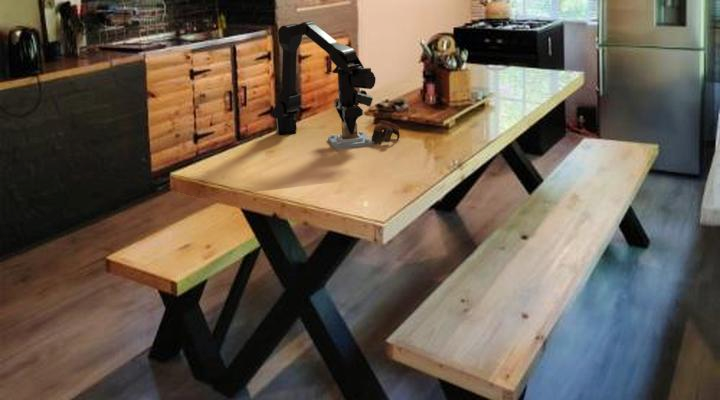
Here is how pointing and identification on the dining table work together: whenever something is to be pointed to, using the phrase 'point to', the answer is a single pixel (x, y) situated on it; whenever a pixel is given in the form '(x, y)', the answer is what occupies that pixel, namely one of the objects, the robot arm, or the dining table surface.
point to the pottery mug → (384, 132)
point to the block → (346, 132)
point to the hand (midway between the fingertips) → (349, 131)
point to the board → (349, 141)
